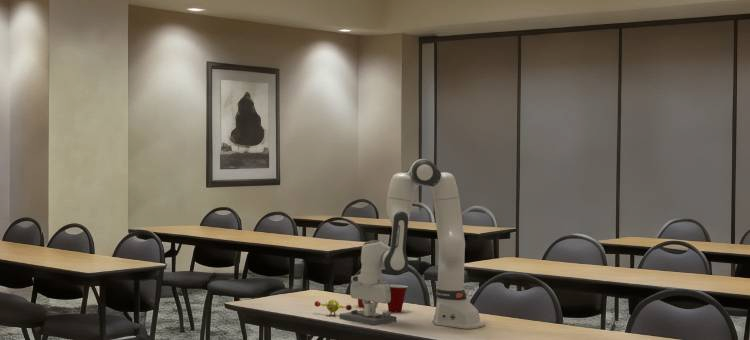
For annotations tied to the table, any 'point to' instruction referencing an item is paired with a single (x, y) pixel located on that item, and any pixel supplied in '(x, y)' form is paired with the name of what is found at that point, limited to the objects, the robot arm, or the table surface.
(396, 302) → the plastic cup
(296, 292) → the table surface
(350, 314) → the console
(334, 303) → the toy figure
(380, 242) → the robot arm
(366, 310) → the block
